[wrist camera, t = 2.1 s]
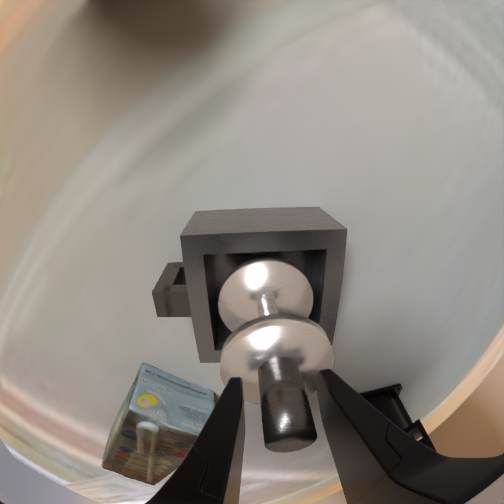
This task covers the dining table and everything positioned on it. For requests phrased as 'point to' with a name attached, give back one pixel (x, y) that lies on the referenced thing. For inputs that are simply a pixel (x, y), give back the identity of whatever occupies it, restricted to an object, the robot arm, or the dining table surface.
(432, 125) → the dining table surface
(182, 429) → the beverage carton
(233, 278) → the plunger
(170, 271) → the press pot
